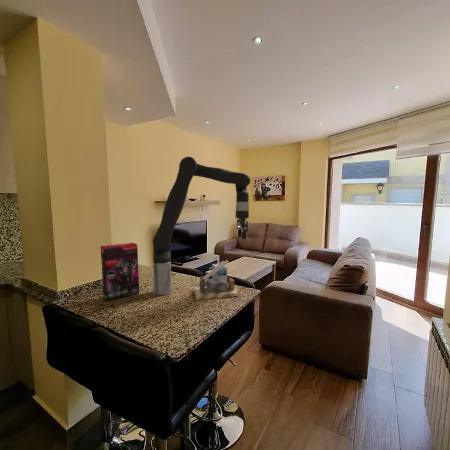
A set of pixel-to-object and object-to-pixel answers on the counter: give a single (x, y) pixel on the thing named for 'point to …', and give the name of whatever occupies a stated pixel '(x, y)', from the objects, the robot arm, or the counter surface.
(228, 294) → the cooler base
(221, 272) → the light bulb box
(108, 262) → the graphics card box
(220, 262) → the strap
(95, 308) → the counter surface
